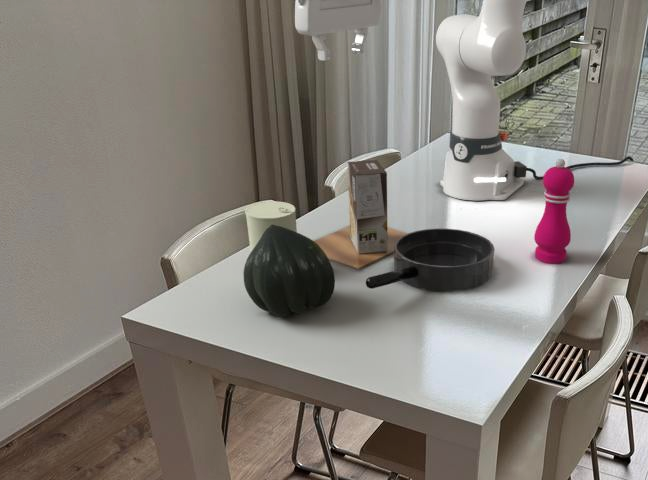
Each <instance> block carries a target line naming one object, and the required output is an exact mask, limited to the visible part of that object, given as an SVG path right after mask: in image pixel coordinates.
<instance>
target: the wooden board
mask: <svg viewBox="0 0 648 480" xmlns="http://www.w3.org/2000/svg"><path fill="white" fill-rule="evenodd" d="M387 232H388V250H387V251H386V252H374V253H363V254H358V252H357V250H356V248H355V246H354V244H353V242H352V240H351V235H350V225H349V226H346V227H345V228H343V229H339V230H337V231H335V232H332V233H330V234H327V235H325V236H323V237H320V238H318V239H315V240H313V241H314V242H316V243H317V244H318V245H319V246H320V248H321V249H322V250H323V251H324V253H325V254H326V256H327V257H328V259H329V261H331V262H334V263H337V264H340V265H343V266H346V267H349V268H352V269H354V270H358V271H359V270H361V269H364V268H365V267H368V266H370V265H372V264H374V263H377V262H378V261H380V260H383V259H384V258H386V257H388V256H391V255H393V254H394V244H395V242H396V241H397V240H398V239H399V238H400V237H402V236H404V235H406V234H407V233H405V232H402V231H399V230H396V229H392V228H389V227H387Z"/></svg>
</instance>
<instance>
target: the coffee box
mask: <svg viewBox="0 0 648 480" xmlns="http://www.w3.org/2000/svg"><path fill="white" fill-rule="evenodd" d="M346 163H347V188H348V209H349V226H350V235H351V240H352V242H353V244H354V246H355V248H356V250H357V252H358V254H363V253H374V252H386V251H387V250H388V232H387V228H388V172H387V171H386V170H385V169H384V167H383V166H382V164H381V163H380V161H378V159H367V160H365V159H364V160H356V161H347V162H346Z"/></svg>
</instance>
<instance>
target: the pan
mask: <svg viewBox="0 0 648 480" xmlns="http://www.w3.org/2000/svg"><path fill="white" fill-rule="evenodd" d="M495 251H496V250H495V246H494V244H493V242H492V241H491V240H489V239H488V238H487V237H485V236H483V235H480V234H478V233H476V232H475V233H474V232H471V231H468V230H463V229H456V228H455V229H454V228H427V229H420V230H416V231H412V232H408V233H406V235H404V236H402V237H400V238H399V239H398V240H397V241H396V242H395V244H394V253H393V258H394V259H393V260H394V261H393V265H394V267H393V268H394V269H393V271H396V270H400V269H404V268H408V267H412V266H413V267H416V268H417V270H418V276H417V277H414V278H410V279H407V280H403V281H402V282H403V283H405V284H407V285H409V286H412V287H414V288H418V289H422V290H426V291H434V292H458V291H467V290H470V289H475V288H477V287H480V286H483V285H484V284H486V283H487V282H489V281H490V280H491V279H492V278H493V275H494V266H495V265H494V264H495Z"/></svg>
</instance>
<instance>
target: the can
mask: <svg viewBox="0 0 648 480" xmlns="http://www.w3.org/2000/svg"><path fill="white" fill-rule="evenodd" d="M296 211H297V209H296V207H295V206H294V205H293V204H292V203H289V202H285V201H276V200H274V201H273V200H270V201H269V200H268V201H267V200H266V201H261V202H256V203H253V204H250V205H249V206H247V207H246V208H245V211H244V213H245V219H246V226H247V232H248V243H249V250H250V251H249V252H250V253H251V251H252V250H253V248H254V247H255V246H256V244H257V243H258V241H259V239H260V238H261V236H262V234H263V233H264V231H265V230H266V229H267V228H268V227H270V225H272V224H274V225H276V226H281V227H284V228H287V229H289V230H292V231H295V232H297V233H298V230H297V216H296V215H297V214H296Z"/></svg>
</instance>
